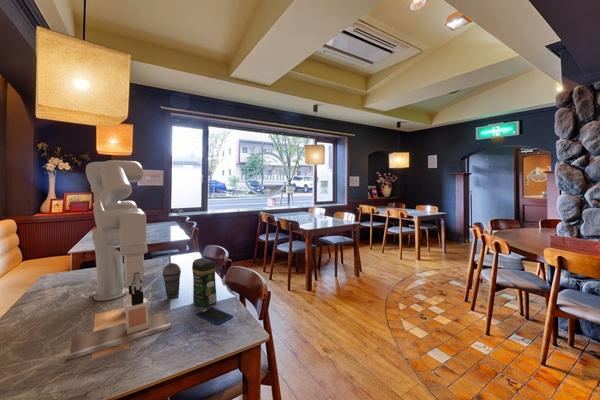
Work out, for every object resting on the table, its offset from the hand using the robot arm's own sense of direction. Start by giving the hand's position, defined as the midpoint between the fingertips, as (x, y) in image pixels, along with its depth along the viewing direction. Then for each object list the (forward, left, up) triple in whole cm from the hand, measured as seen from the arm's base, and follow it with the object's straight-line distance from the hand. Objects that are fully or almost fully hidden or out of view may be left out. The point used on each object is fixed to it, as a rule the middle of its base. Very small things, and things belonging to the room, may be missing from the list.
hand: (135, 298), depth 87 cm
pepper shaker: (-12, +11, -12) cm, 20 cm away
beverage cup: (-4, +25, -12) cm, 28 cm away
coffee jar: (+12, +23, -12) cm, 29 cm away
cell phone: (+21, +13, -12) cm, 28 cm away
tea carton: (0, 0, -10) cm, 10 cm away
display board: (-3, -3, -12) cm, 12 cm away
